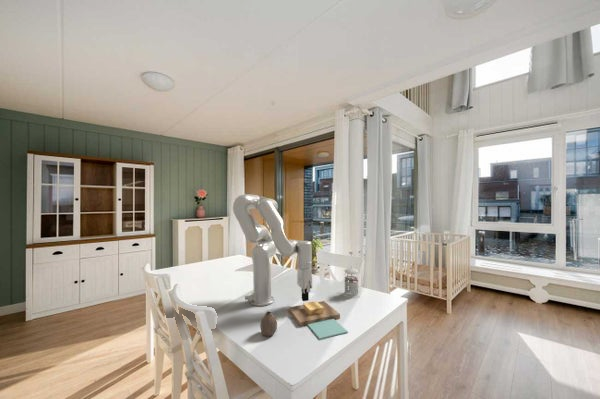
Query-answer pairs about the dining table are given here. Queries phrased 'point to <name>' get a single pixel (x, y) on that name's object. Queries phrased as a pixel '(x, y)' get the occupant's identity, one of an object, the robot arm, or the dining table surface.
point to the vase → (268, 324)
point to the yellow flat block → (313, 308)
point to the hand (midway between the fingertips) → (305, 300)
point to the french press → (351, 283)
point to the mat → (327, 328)
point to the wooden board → (305, 318)
